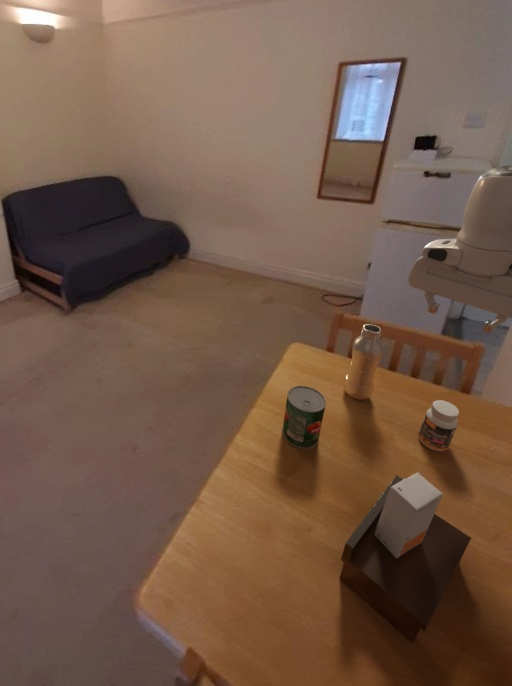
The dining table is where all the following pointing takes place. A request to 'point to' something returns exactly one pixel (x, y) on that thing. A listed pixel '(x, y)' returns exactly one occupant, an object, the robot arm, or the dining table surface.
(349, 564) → the dark brown plinth
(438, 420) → the pill bottle
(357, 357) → the plastic bottle
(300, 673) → the dining table surface
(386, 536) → the cosmetic box
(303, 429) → the canned tomato
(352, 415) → the dining table surface
